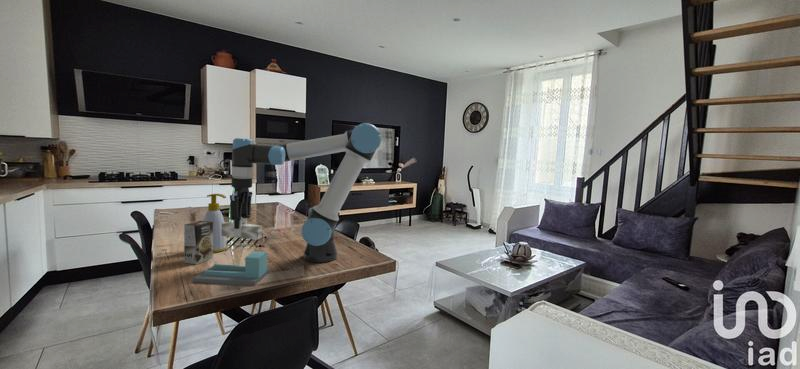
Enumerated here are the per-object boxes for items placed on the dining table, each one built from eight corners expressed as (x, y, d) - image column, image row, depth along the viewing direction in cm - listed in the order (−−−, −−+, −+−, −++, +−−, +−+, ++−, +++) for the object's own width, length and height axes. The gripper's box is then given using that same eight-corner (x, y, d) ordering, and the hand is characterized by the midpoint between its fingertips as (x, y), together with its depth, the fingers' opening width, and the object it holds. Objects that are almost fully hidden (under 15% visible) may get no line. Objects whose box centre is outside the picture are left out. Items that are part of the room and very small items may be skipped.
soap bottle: (216, 254, 151) (217, 196, 149) (193, 252, 153) (193, 194, 151) (233, 247, 162) (233, 193, 160) (211, 245, 164) (211, 191, 162)
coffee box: (197, 264, 138) (197, 225, 136) (183, 263, 139) (183, 224, 137) (213, 258, 147) (213, 221, 145) (200, 256, 148) (200, 220, 146)
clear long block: (261, 237, 139) (262, 225, 139) (257, 239, 136) (258, 227, 135) (226, 233, 140) (226, 221, 139) (221, 235, 136) (221, 223, 136)
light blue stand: (270, 271, 135) (270, 249, 134) (254, 285, 121) (255, 261, 120) (214, 268, 135) (214, 246, 134) (193, 282, 121) (192, 257, 120)
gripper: (243, 175, 144) (241, 229, 146) (220, 178, 127) (219, 239, 130) (260, 176, 143) (258, 231, 146) (240, 179, 127) (238, 241, 129)
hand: (240, 234), depth 138 cm, fingers closed on clear long block, 3 cm apart
